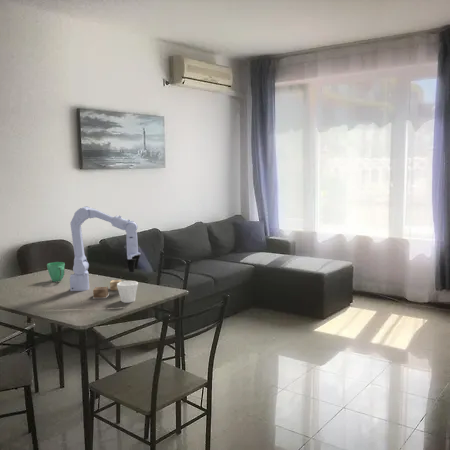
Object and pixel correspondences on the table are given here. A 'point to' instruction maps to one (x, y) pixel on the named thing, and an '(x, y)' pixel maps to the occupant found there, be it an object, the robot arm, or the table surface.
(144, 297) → the table surface
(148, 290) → the table surface
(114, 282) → the oak cube
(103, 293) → the walnut block
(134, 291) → the cup
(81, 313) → the table surface
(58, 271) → the mug
